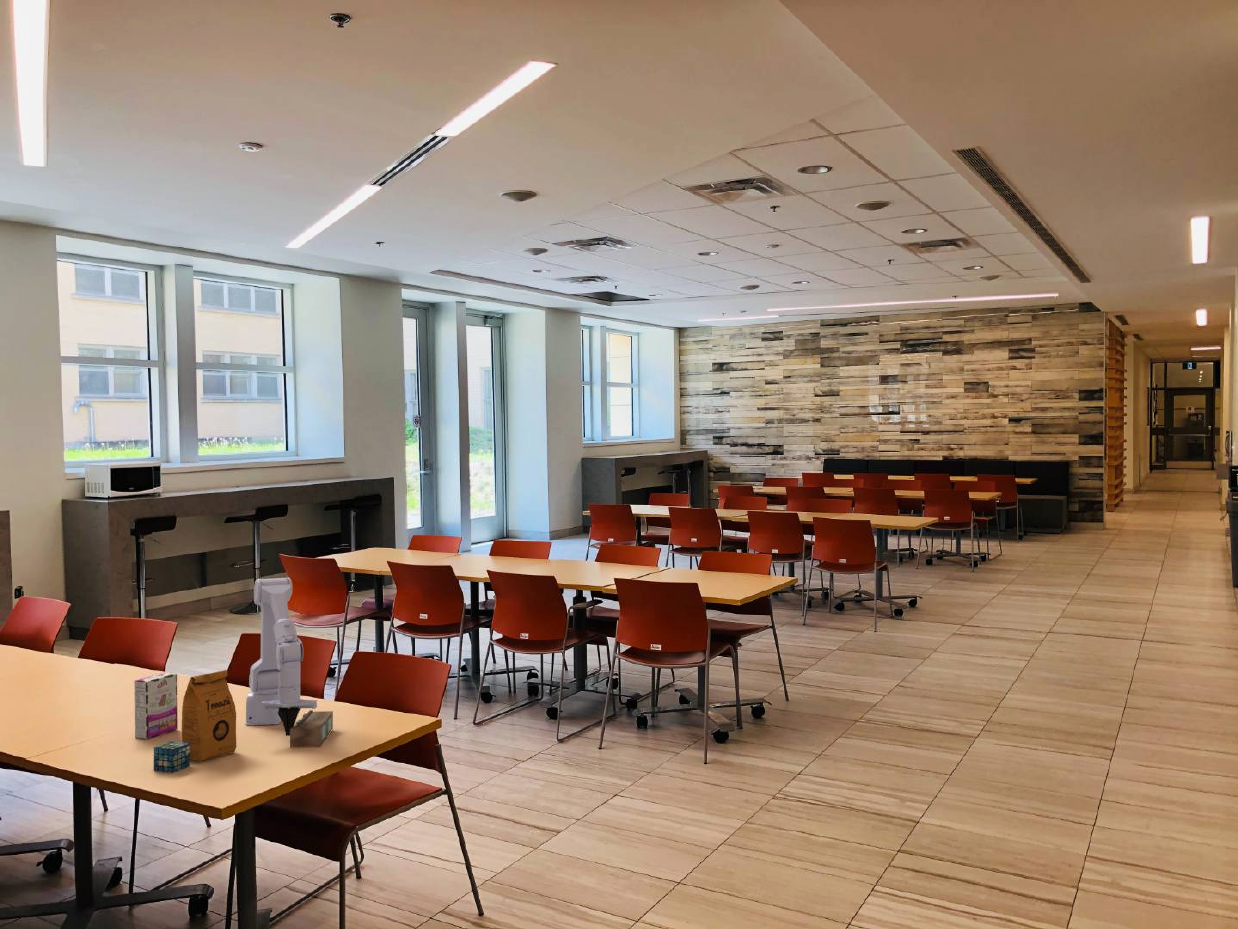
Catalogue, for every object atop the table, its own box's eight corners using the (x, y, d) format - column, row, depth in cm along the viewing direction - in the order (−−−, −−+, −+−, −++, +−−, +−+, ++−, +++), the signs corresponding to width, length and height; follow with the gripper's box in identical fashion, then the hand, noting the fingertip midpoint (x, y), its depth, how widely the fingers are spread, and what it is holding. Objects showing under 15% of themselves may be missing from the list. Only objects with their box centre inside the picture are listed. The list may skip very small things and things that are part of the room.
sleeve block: (289, 747, 261) (290, 726, 261) (304, 730, 278) (304, 710, 278) (320, 746, 262) (320, 725, 262) (332, 730, 279) (332, 710, 279)
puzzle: (170, 764, 246) (170, 741, 246) (190, 766, 244) (190, 743, 244) (153, 771, 240) (153, 747, 240) (172, 773, 239) (172, 749, 239)
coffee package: (241, 753, 255) (242, 670, 255) (198, 765, 245) (199, 679, 245) (219, 747, 261) (220, 666, 261) (176, 759, 250) (177, 674, 251)
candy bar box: (164, 728, 280) (165, 671, 280) (178, 730, 278) (178, 673, 278) (133, 738, 269) (133, 679, 269) (146, 740, 268) (147, 681, 268)
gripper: (258, 689, 261) (258, 739, 261) (313, 688, 262) (312, 738, 262) (265, 683, 268) (265, 732, 268) (318, 682, 269) (318, 731, 269)
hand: (289, 735), depth 265 cm, fingers closed
